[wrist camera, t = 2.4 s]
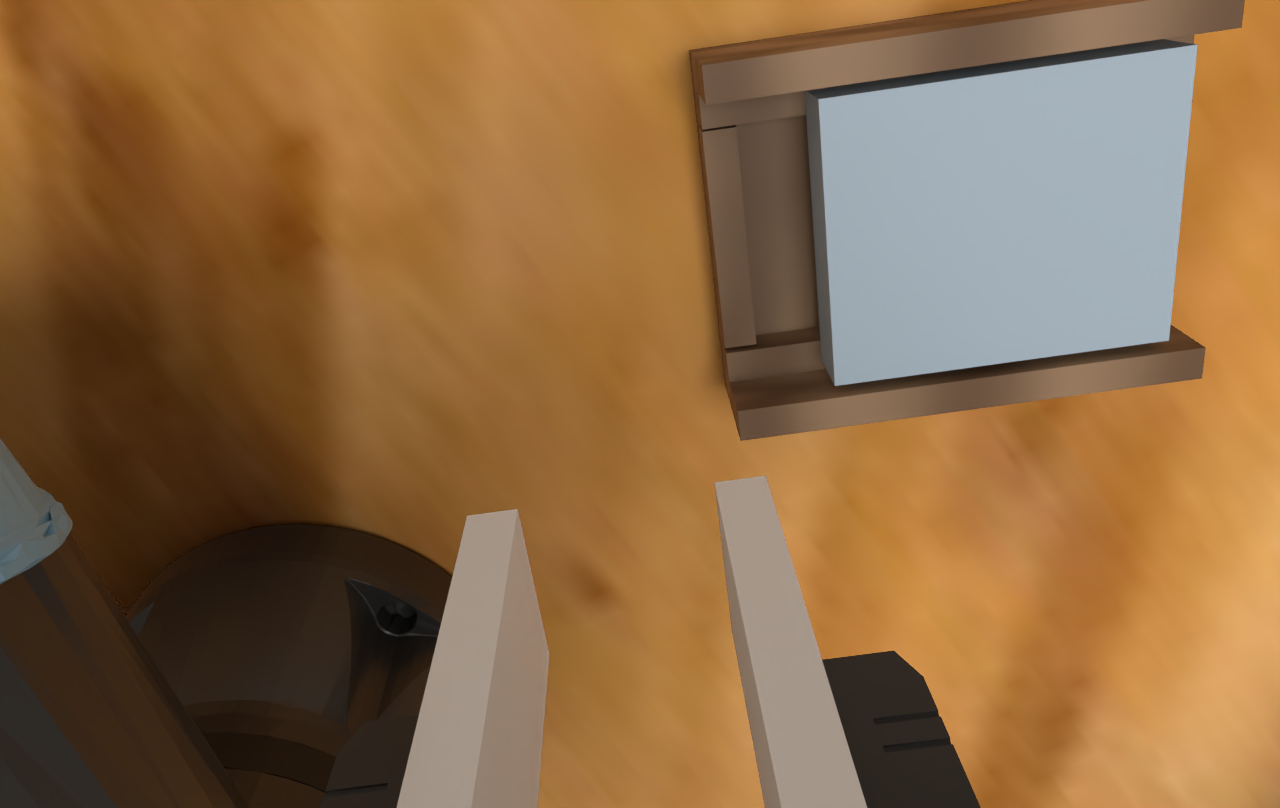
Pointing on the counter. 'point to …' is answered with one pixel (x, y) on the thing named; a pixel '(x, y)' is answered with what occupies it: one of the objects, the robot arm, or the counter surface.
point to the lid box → (783, 221)
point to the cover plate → (999, 209)
